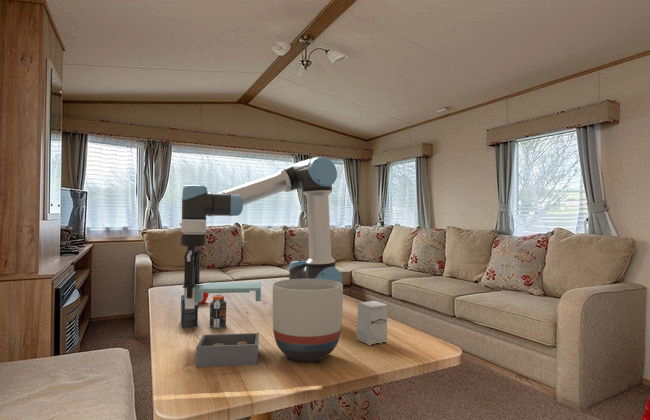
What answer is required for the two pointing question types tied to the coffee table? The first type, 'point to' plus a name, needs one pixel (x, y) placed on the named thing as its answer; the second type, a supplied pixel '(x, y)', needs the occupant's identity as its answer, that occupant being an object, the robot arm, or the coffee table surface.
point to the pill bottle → (218, 311)
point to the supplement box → (372, 322)
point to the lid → (226, 289)
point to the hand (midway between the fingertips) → (191, 306)
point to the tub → (227, 350)
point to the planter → (307, 317)
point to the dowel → (241, 342)
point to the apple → (204, 298)
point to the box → (188, 315)
